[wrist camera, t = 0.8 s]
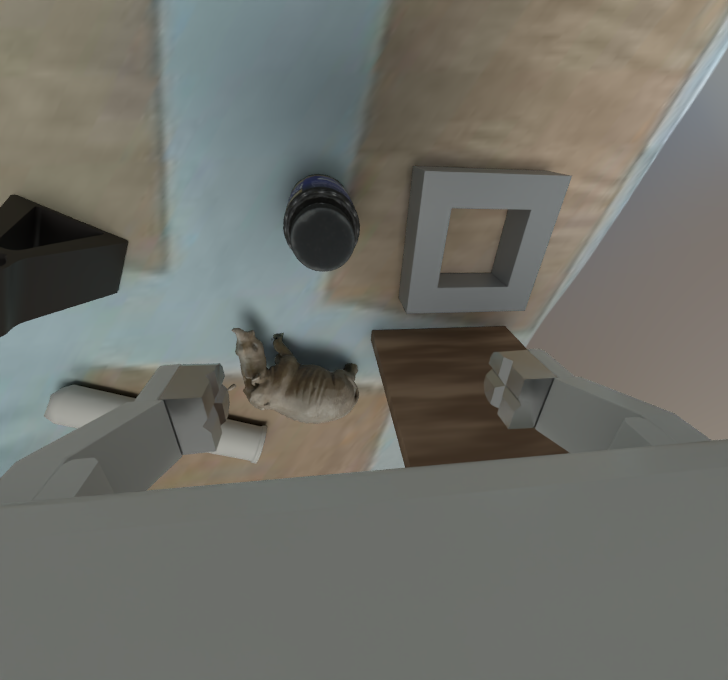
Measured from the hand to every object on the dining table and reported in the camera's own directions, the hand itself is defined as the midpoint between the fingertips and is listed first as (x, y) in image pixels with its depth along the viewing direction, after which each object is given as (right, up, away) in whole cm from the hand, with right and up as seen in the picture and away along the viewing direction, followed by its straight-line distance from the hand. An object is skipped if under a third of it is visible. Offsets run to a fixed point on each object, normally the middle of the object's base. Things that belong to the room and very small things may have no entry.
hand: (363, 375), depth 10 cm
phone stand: (-28, +10, +22) cm, 37 cm away
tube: (-26, -9, +35) cm, 45 cm away
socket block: (+11, +12, +26) cm, 31 cm away
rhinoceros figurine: (-9, -1, +32) cm, 33 cm away
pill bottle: (-4, +14, +23) cm, 27 cm away
